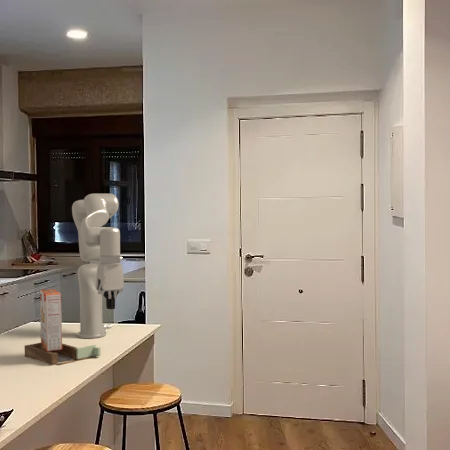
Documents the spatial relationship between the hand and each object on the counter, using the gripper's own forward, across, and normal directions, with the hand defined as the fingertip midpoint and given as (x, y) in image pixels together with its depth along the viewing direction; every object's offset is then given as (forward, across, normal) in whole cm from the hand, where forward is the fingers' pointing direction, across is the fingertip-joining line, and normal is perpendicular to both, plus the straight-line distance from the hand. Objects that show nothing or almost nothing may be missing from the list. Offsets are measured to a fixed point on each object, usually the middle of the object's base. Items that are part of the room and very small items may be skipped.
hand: (110, 308), depth 216 cm
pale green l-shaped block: (+17, +9, -2) cm, 19 cm away
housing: (+18, +13, -13) cm, 26 cm away
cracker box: (+14, +17, -14) cm, 26 cm away
